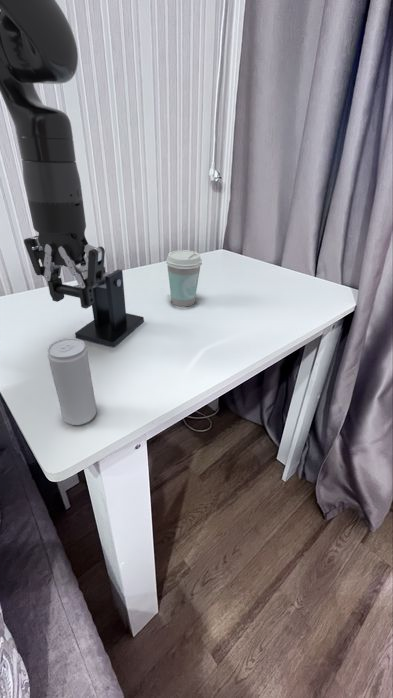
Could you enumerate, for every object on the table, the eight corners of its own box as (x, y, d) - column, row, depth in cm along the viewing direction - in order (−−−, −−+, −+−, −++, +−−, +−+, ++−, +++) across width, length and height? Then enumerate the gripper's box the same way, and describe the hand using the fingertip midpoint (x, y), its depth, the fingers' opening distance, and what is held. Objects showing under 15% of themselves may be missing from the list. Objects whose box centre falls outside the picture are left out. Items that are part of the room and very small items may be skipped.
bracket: (113, 347, 65) (106, 286, 58) (75, 337, 67) (64, 277, 60) (143, 321, 74) (141, 265, 67) (109, 313, 77) (103, 259, 70)
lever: (81, 301, 55) (80, 287, 54) (55, 296, 56) (54, 282, 56) (121, 287, 66) (121, 275, 65) (99, 282, 67) (98, 270, 66)
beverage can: (104, 412, 50) (94, 344, 43) (78, 432, 46) (63, 362, 40) (81, 400, 52) (69, 333, 45) (55, 418, 48) (37, 349, 42)
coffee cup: (179, 312, 79) (180, 262, 72) (159, 299, 84) (158, 252, 78) (207, 303, 83) (209, 256, 77) (186, 292, 89) (187, 247, 82)
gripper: (-4, 194, 47) (23, 303, 56) (79, 204, 43) (94, 320, 52) (35, 189, 53) (54, 288, 62) (112, 198, 49) (120, 303, 58)
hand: (73, 302), depth 57 cm, fingers closed on lever, 5 cm apart
